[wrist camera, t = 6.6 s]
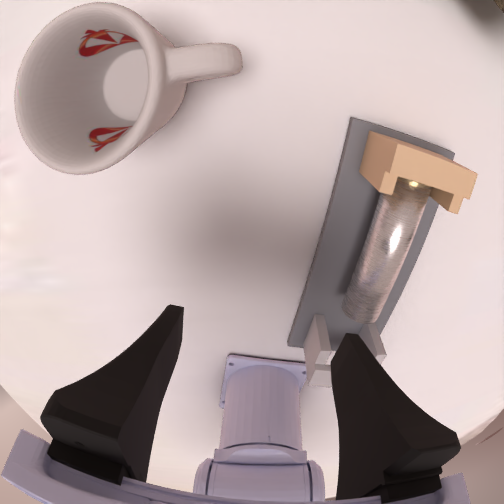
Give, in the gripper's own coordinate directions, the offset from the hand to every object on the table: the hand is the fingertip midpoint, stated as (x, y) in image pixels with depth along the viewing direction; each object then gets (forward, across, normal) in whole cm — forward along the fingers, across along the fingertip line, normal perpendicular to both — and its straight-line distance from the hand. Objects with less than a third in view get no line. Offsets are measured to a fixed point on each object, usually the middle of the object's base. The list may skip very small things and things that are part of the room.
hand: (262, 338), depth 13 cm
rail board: (+10, -8, 0) cm, 13 cm away
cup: (+10, +8, -10) cm, 16 cm away
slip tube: (+10, -8, -2) cm, 13 cm away
